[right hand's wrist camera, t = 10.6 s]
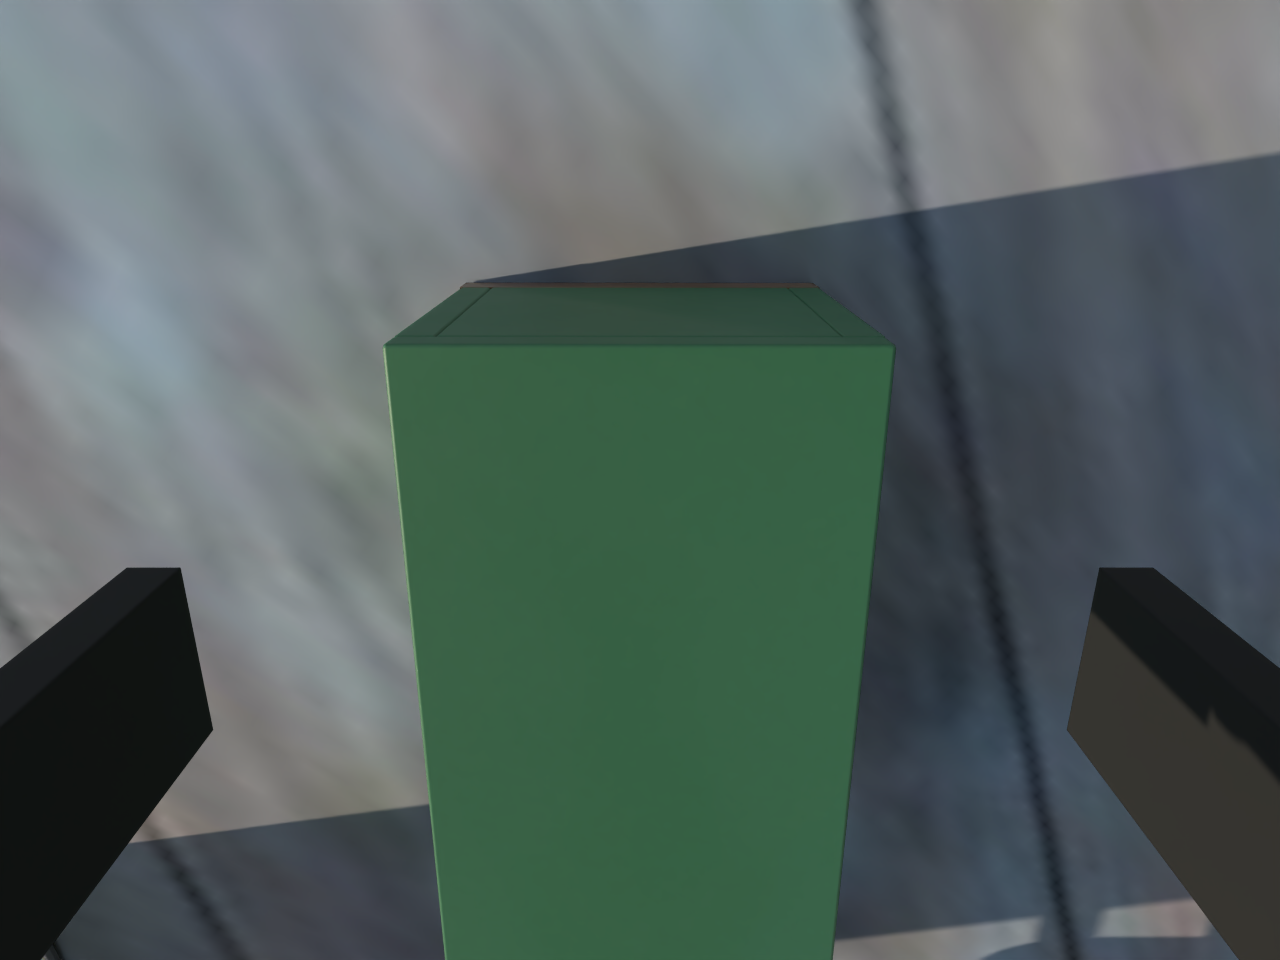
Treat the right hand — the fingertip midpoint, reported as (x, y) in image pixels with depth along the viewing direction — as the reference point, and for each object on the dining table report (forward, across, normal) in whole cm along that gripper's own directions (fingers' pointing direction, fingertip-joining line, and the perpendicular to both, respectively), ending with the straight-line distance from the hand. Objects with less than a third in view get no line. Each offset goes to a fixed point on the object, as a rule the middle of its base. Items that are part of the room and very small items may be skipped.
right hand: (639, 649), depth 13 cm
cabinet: (+16, 0, -6) cm, 16 cm away
